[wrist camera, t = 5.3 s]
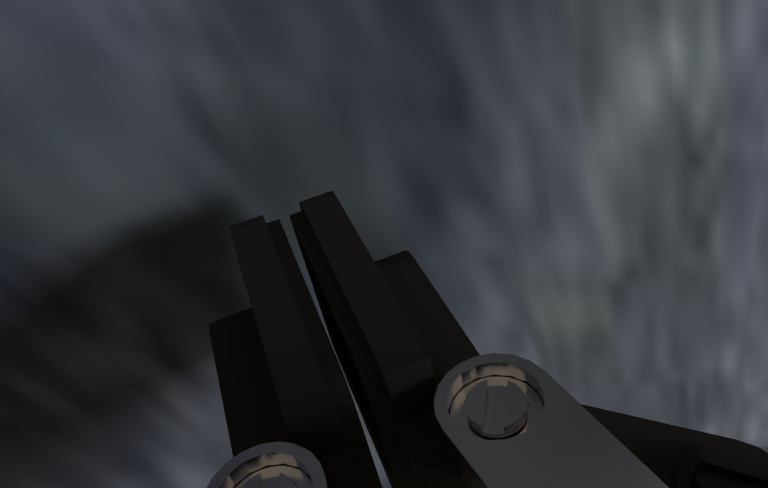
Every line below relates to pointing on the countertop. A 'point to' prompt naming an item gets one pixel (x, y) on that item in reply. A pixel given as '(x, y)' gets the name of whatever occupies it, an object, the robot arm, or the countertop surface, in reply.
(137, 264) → the countertop surface
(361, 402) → the robot arm
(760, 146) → the countertop surface
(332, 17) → the countertop surface
